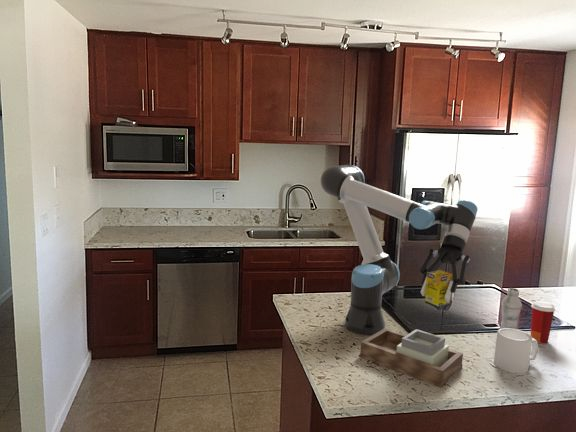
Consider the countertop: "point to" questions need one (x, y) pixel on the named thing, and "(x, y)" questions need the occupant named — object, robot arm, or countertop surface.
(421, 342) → the stepped square pedestal
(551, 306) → the paper cup
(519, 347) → the mug
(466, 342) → the countertop surface
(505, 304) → the plastic bottle
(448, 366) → the tray
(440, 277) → the supplement box
